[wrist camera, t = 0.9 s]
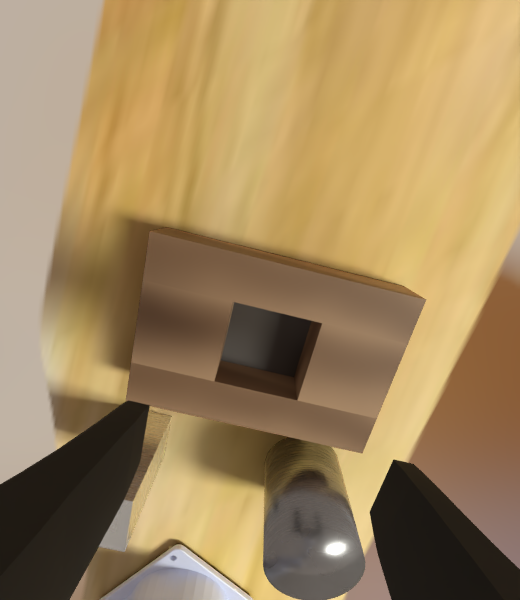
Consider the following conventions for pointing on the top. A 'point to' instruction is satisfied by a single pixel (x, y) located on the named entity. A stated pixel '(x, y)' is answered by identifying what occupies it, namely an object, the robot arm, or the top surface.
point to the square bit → (139, 483)
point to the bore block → (266, 340)
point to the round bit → (309, 523)
